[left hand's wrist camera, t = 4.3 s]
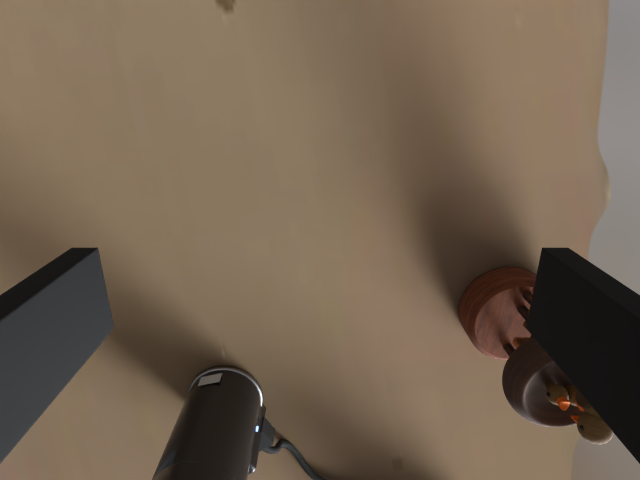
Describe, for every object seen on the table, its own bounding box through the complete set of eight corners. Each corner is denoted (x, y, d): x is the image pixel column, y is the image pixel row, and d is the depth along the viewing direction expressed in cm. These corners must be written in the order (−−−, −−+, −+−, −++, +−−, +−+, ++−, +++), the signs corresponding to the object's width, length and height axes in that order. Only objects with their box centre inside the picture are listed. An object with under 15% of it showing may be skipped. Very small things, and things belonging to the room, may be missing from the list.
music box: (461, 253, 47) (579, 364, 28) (554, 251, 48) (727, 357, 29) (446, 366, 52) (537, 522, 34) (529, 362, 53) (663, 512, 35)
